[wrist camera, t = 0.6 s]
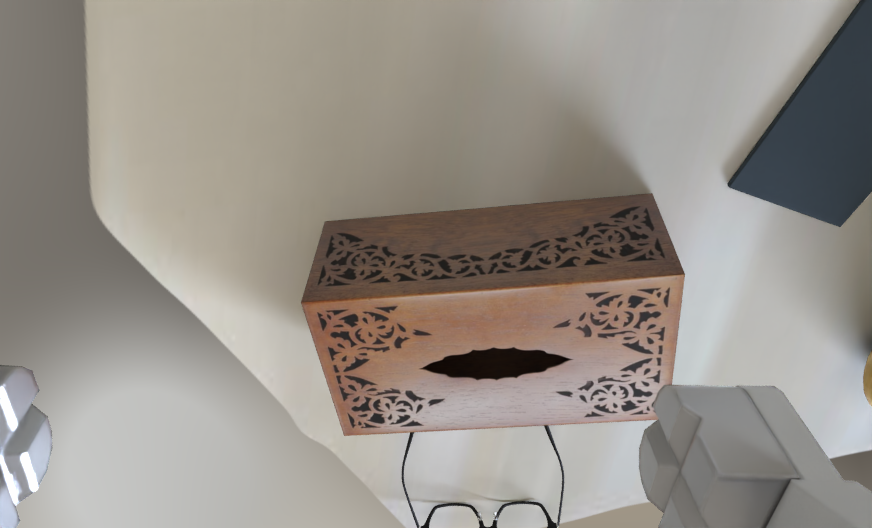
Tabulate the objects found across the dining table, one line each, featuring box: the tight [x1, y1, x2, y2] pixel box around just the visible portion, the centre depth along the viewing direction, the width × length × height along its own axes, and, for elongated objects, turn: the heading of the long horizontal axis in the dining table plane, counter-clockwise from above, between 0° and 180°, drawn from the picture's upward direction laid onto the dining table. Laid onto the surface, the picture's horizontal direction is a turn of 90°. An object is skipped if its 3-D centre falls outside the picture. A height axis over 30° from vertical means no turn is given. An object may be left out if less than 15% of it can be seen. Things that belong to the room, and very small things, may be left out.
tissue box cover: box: [301, 194, 685, 436], centre depth 54 cm, size 26×14×10 cm, turn 97°
